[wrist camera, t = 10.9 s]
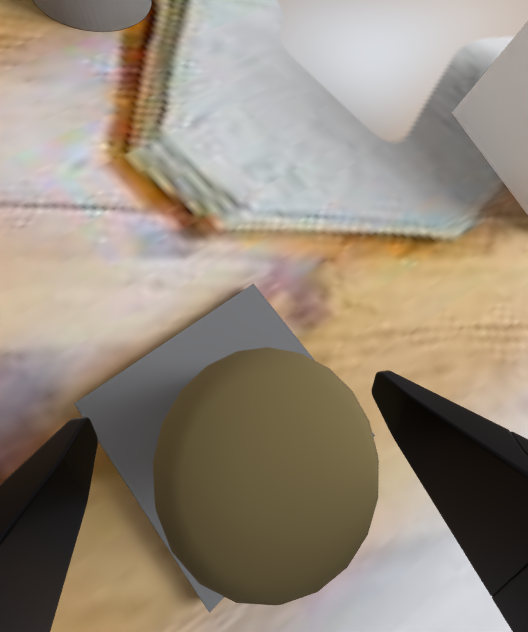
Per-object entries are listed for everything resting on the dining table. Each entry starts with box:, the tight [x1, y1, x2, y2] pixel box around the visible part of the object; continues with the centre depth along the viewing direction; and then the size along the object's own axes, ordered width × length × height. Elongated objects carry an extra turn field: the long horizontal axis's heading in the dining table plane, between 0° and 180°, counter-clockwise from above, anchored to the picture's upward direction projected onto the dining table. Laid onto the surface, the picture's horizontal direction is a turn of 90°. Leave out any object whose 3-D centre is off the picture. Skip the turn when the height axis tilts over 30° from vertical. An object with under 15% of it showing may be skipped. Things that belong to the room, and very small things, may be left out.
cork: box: [153, 347, 379, 605], centre depth 10 cm, size 6×6×11 cm
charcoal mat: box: [74, 284, 375, 613], centre depth 16 cm, size 12×12×1 cm
